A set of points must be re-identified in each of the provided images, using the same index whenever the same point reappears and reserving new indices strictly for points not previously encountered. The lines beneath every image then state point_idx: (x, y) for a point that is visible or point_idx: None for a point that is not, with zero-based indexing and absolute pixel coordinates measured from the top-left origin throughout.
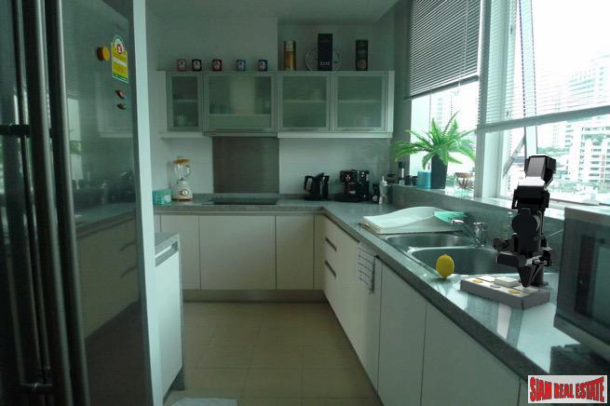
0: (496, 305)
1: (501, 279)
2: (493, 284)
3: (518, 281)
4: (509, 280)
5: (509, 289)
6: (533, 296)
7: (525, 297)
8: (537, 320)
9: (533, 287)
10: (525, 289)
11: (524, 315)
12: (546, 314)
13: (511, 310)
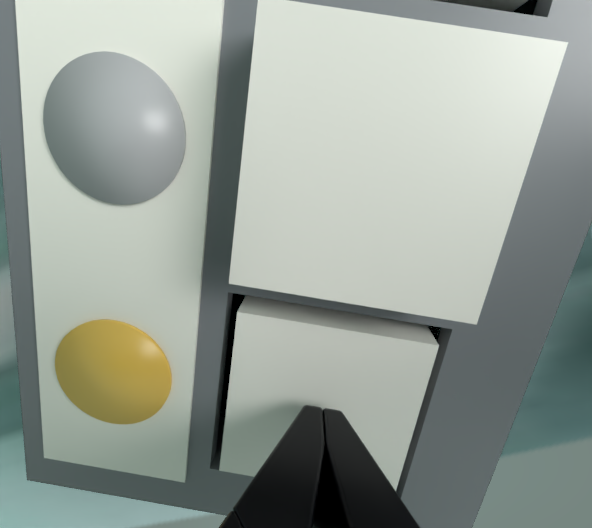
0: (2, 250)
1: (284, 131)
2: (184, 64)
3: (464, 314)
4: (330, 247)
5: (159, 304)
6: (184, 501)
7: (70, 481)
8: (10, 508)
9: (477, 432)
10: (285, 424)
11: (12, 443)
12: (152, 514)
13: (14, 363)
